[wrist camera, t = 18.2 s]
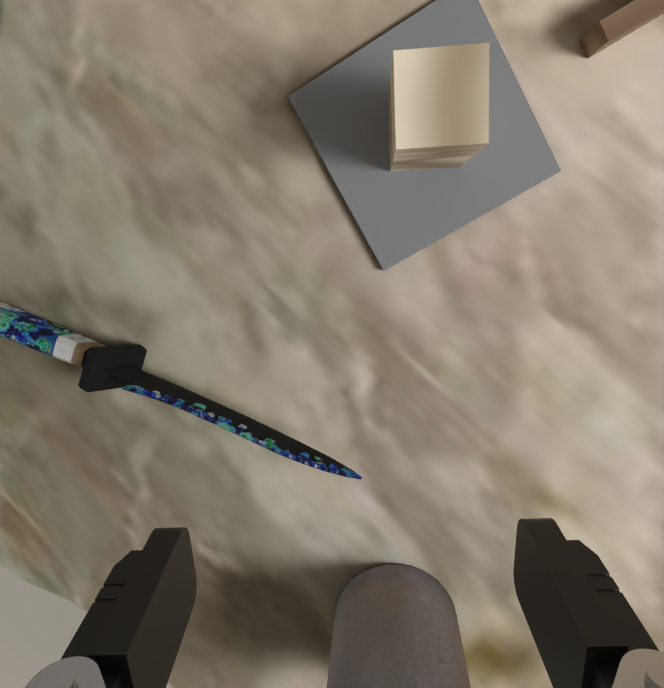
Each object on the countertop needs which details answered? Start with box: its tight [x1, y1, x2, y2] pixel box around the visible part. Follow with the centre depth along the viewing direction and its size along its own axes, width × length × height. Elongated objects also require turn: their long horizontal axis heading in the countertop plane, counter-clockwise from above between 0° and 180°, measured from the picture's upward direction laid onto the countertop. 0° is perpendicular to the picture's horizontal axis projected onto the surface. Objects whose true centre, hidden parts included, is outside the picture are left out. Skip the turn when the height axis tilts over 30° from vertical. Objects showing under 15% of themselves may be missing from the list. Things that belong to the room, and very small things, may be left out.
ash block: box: [389, 43, 489, 171], centre depth 30 cm, size 4×4×9 cm
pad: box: [288, 0, 561, 271], centre depth 35 cm, size 13×13×1 cm
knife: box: [0, 302, 362, 479], centre depth 37 cm, size 31×3×4 cm, turn 66°
